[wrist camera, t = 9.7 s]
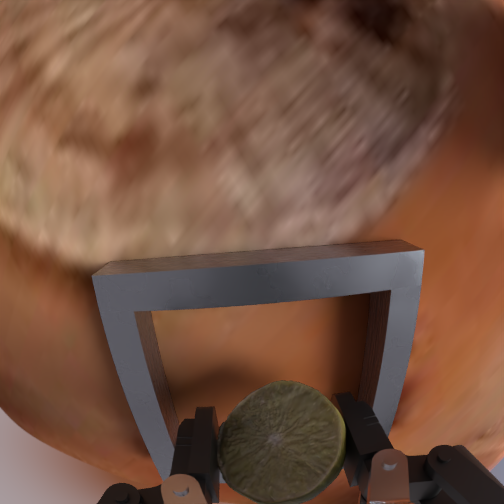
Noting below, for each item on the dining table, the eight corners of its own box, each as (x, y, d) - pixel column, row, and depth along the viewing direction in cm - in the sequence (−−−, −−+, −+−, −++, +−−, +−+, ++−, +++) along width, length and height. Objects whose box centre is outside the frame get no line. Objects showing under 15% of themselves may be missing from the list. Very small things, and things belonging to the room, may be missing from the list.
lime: (209, 426, 12) (202, 516, 7) (254, 348, 11) (265, 449, 6) (294, 447, 13) (310, 528, 8) (348, 378, 12) (391, 464, 7)
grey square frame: (110, 261, 12) (91, 275, 10) (401, 239, 13) (424, 250, 11) (167, 458, 16) (163, 481, 14) (370, 438, 16) (380, 459, 14)
